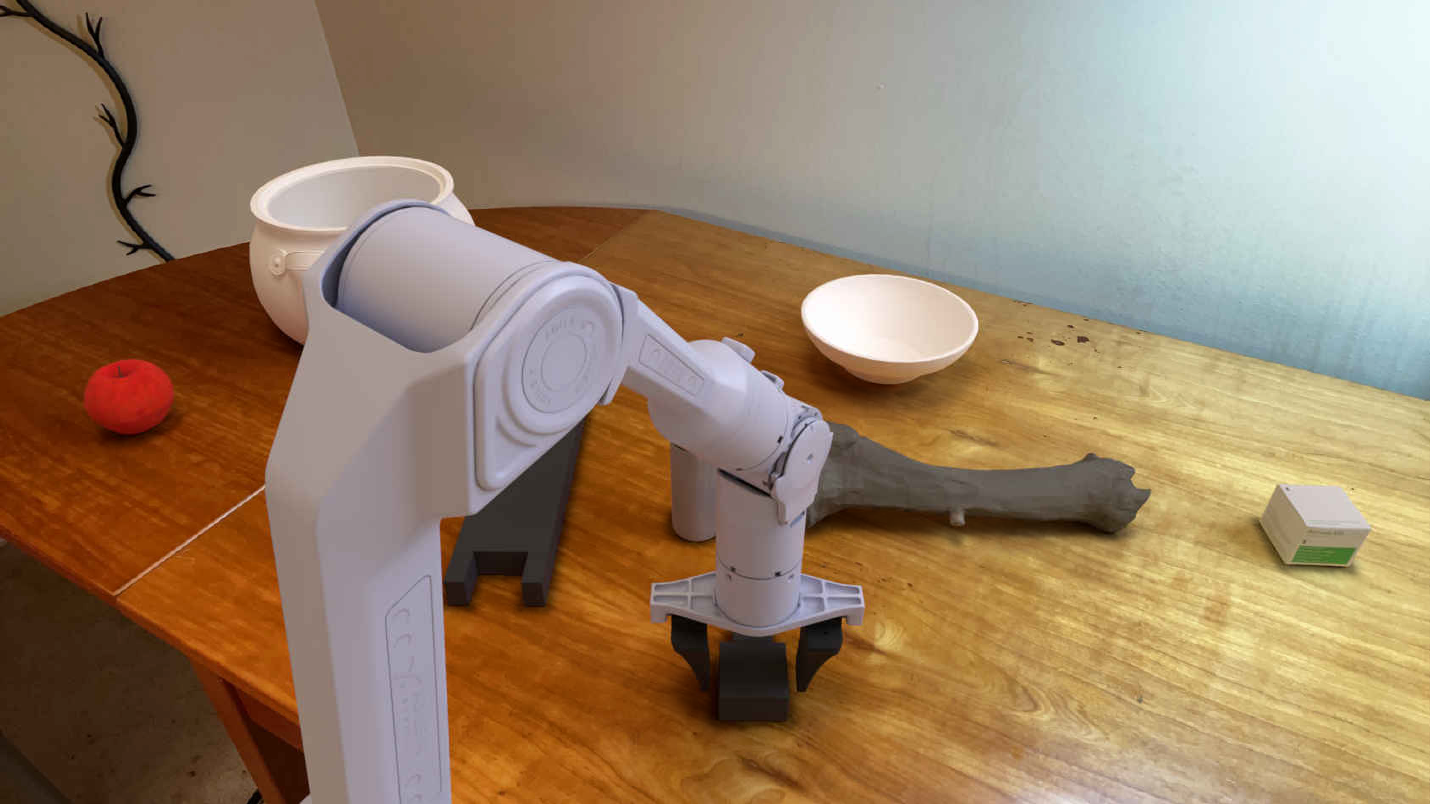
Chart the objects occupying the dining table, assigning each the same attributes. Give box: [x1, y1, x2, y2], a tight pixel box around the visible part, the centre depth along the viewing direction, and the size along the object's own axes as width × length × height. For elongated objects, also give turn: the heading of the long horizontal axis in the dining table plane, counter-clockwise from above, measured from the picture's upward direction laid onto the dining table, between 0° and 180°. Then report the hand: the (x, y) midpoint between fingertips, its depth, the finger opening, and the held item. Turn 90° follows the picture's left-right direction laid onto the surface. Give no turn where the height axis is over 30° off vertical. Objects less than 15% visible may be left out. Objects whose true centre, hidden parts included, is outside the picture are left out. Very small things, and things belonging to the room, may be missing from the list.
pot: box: [249, 155, 476, 347], centre depth 110 cm, size 29×26×16 cm
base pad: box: [442, 414, 587, 607], centre depth 90 cm, size 40×8×3 cm, turn 179°
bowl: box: [800, 273, 979, 385], centre depth 103 cm, size 20×20×7 cm
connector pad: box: [718, 631, 790, 722], centre depth 68 cm, size 8×5×3 cm, turn 179°
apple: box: [83, 358, 175, 436], centre depth 92 cm, size 8×8×7 cm
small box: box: [1258, 483, 1372, 568], centre depth 80 cm, size 6×6×5 cm
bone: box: [805, 420, 1152, 534], centre depth 82 cm, size 32×10×9 cm, turn 87°
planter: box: [669, 441, 717, 542], centre depth 80 cm, size 4×4×10 cm
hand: (752, 680), depth 67 cm, fingers open, 6 cm apart
